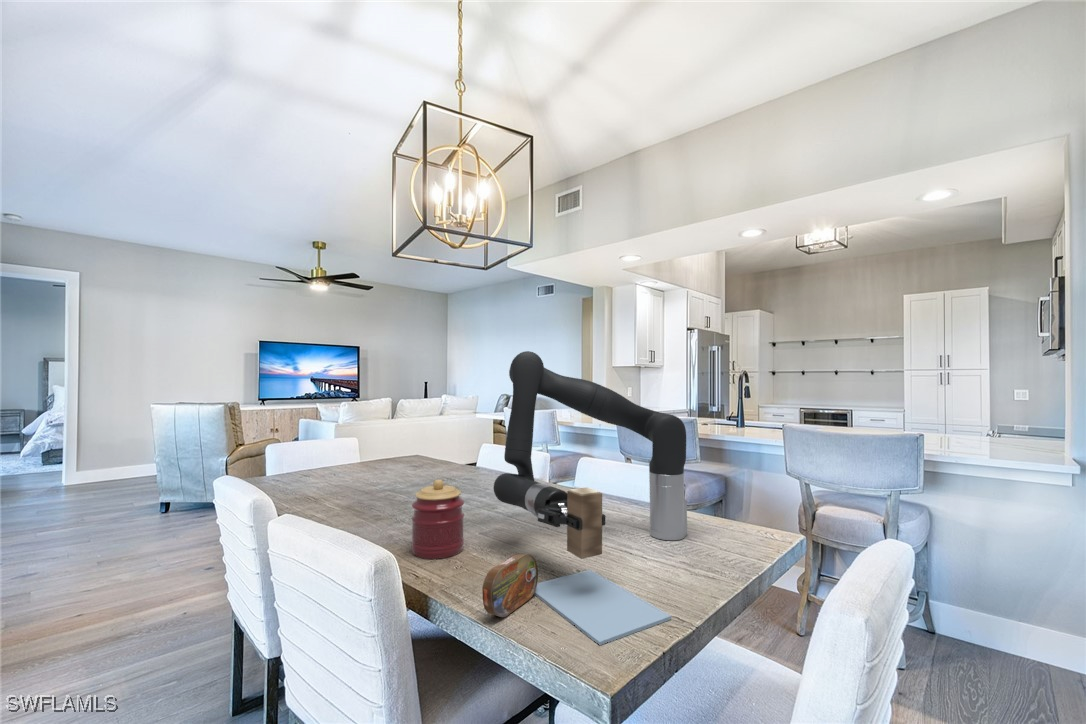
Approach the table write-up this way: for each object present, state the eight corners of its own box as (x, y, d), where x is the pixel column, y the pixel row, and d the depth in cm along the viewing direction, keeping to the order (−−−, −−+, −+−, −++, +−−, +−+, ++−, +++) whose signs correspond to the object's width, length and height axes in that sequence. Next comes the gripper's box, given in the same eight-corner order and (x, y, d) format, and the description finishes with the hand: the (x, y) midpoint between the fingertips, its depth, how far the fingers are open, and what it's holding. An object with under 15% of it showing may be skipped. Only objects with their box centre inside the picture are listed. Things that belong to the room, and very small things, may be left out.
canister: (440, 563, 109) (440, 487, 109) (399, 554, 115) (400, 481, 116) (474, 546, 120) (474, 477, 121) (436, 538, 126) (436, 472, 127)
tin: (494, 625, 81) (492, 575, 81) (479, 621, 82) (478, 572, 83) (540, 592, 93) (538, 549, 94) (527, 589, 95) (525, 547, 96)
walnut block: (587, 546, 97) (587, 486, 97) (602, 554, 92) (602, 491, 93) (567, 550, 94) (567, 489, 95) (581, 559, 90) (581, 494, 90)
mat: (590, 572, 103) (590, 569, 103) (671, 619, 83) (671, 615, 83) (527, 588, 95) (527, 585, 95) (599, 645, 75) (599, 641, 75)
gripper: (519, 489, 102) (562, 508, 88) (573, 482, 110) (621, 499, 95) (519, 524, 102) (562, 548, 87) (573, 515, 109) (621, 536, 95)
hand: (592, 522), depth 91 cm, fingers closed on walnut block, 5 cm apart
